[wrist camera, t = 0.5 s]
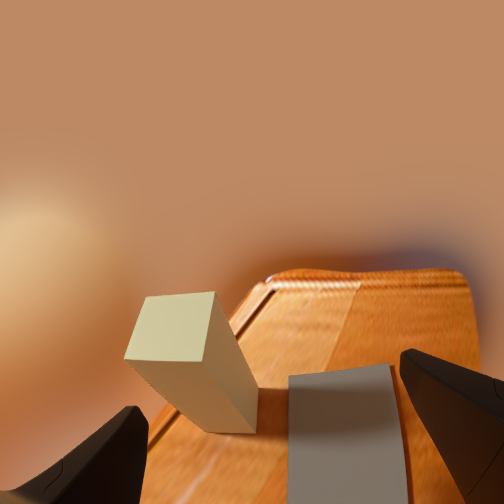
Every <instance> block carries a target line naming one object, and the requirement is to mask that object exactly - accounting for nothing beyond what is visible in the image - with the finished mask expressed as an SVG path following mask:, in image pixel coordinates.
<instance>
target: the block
mask: <svg viewBox="0 0 504 504" xmlns="http://www.w3.org/2000/svg"><path fill="white" fill-rule="evenodd" d="M124 360H125V361H126V362H127V363H128V364H129V365H130V366H131V367H132V368H133V369H134V370H135V371H136V372H137V373H138V374H139V375H140V376H141V377H142V378H143V379H144V380H145V381H146V382H148V384H150V385H151V386H152V387H153V388H154V389H155V390H156V391H157V392H158V393H159V394H160V395H161V396H163V397H164V398H165V399H166V400H167V401H168V402H169V403H170V404H172V405H173V406H174V407H175V408H176V409H177V410H179V411H180V412H181V413H182V414H183V415H185V416H186V417H187V418H188V419H189V420H191V421H192V422H193V423H194V424H196V425H197V426H198V427H199V428H201V429H202V430H203V431H205V432H216V433H246V434H256V426H257V409H258V391H259V387H258V385H257V383H256V381H255V379H254V377H253V375H252V373H251V371H250V368H249V366H248V364H247V362H246V360H245V358H244V356H243V353H242V351H241V349H240V347H239V345H238V342H237V340H236V338H235V336H234V334H233V331H232V329H231V327H230V325H229V322H228V320H227V318H226V316H225V314H224V311H223V309H222V307H221V304H220V302H219V300H218V297H217V295H216V293H215V292H203V293H191V294H179V295H166V296H152V297H146V299H145V302H144V304H143V307H142V309H141V312H140V315H139V318H138V320H137V323H136V326H135V328H134V331H133V334H132V337H131V340H130V343H129V345H128V348H127V351H126V354H125V357H124Z"/></svg>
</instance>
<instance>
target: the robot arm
mask: <svg viewBox="0 0 504 504" xmlns="http://www.w3.org/2000/svg"><path fill="white" fill-rule="evenodd" d="M400 376H401V379H402V381H403V383H404V385H405V388H406V390H407V392H408V394H409V397H410V399H411V401H412V404H413V406H414V408H415V410H416V412H417V414H418V416H419V418H420V419H421V421H422V423H423V424H424V426H425V428H426V430H427V431H428V433H429V435H430V437H431V438H432V440H433V442H434V444H435V446H436V447H437V449H438V451H439V453H440V455H441V456H442V458H443V460H444V462H445V464H446V466H447V468H448V469H449V471H450V473H451V475H452V477H453V479H454V481H455V483H456V485H457V487H458V489H459V491H460V493H461V495H462V497H463V499H465V500H464V501H465V503H466V504H504V381H501V380H499V379H495V378H492V377H490V376H487V375H484V374H481V373H478V372H475V371H473V370H470V369H467V368H464V367H462V366H459V365H456V364H453V363H451V362H448V361H445V360H442V359H440V358H437V357H434V356H432V355H429V354H426V353H424V352H421V351H418V350H416V349H413V348H411V349H408V350H406V351H403V352H402V353H401V355H400ZM148 431H149V424H148V421H147V420H146V418H145V416H144V415H143V413H142V412H141V410H140V408H139V407H138V406H126V407H125V408H124V409H122V410H121V411H120V412H119V413H118V414H116V415H115V416H114V417H113V418H112V419H110V420H109V421H108V422H107V423H106V424H104V425H103V426H102V427H101V428H99V429H98V430H97V431H96V432H95V433H93V434H92V435H91V436H90V437H88V438H87V439H86V440H85V441H83V442H82V443H81V444H80V445H78V446H77V447H76V448H75V449H73V450H72V451H71V452H70V453H68V454H67V455H66V456H64V457H63V458H62V459H60V460H59V461H58V462H57V463H55V464H54V465H53V466H51V467H50V468H48V469H47V470H46V471H44V472H43V473H41V474H39V475H38V476H36V477H35V478H33V479H31V480H30V481H28V482H26V483H25V484H23V485H21V486H20V487H18V488H16V489H13V490H10V491H0V504H139V503H140V497H141V490H142V484H143V478H144V472H145V467H146V459H147V445H148Z"/></svg>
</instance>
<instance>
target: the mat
mask: <svg viewBox="0 0 504 504" xmlns="http://www.w3.org/2000/svg"><path fill="white" fill-rule="evenodd" d="M287 504H408V492H407V478H406V467H405V458H404V449H403V441H402V434H401V427H400V421H399V414H398V408H397V403H396V397H395V392H394V386H393V381H392V376H391V372H390V367H389V363H384V364H378V365H372V366H366V367H360V368H353V369H346V370H339V371H331V372H323V373H313V374H303V375H291V376H289V436H288V484H287Z"/></svg>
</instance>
